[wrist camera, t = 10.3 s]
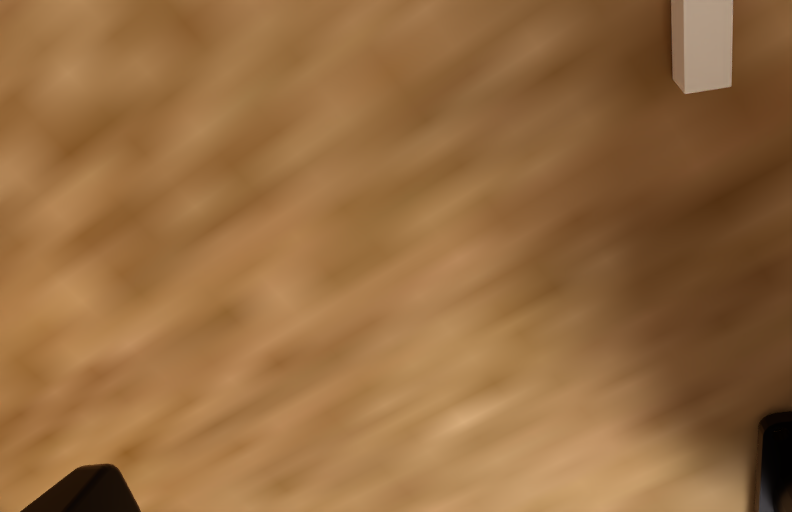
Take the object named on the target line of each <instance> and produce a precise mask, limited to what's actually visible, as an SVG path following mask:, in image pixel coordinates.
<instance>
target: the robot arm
mask: <svg viewBox="0 0 792 512" xmlns="http://www.w3.org/2000/svg"><path fill="white" fill-rule="evenodd" d="M780 428H783V429H782V430H780V431H776V432H774V431H775V430H776V429H780ZM20 512H141V511H140V508H139V506H138V504H137V502H136V500H135V499H134V497H133V495H132V493H131V491H130V489H129V487H128V485H127V483H126V482H125V480H124V478H123V476H122V474H121V472H120V471H119V469H118V468H117V467H115V466H114V465H112V464H97V465H85V466H81V467H79V468H77V469H75V470H74V471H72V472H71V473H70V474H68V475H67V476H66V477H65V478H63V479H62V480H61V481H59V482H58V483H57V484H55V485H54V486H53V487H52V488H50V489H49V490H48V491H46V492H45V493H44V494H42V495H41V496H40V497H39V498H37V499H36V500H35V501H33V502H32V503H31V504H30V505H28V506H27V507H26V508H24V509H23V510H22V511H20ZM754 512H792V412H782V413H774V414H770V415H768V416H766V417H764V418H763V419H762V420H761V421H760V423H759V426H758V447H757V468H756V489H755V510H754Z"/></svg>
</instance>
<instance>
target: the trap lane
mask: <svg viewBox="0 0 792 512" xmlns="http://www.w3.org/2000/svg"><path fill="white" fill-rule="evenodd" d="M671 25H672V73H673V80H674V81H675V83H676V84H677V85H678V86H679V88H680V89H681V90H682V91H683V93H684V94H689V93H695V92H702V91H708V90H714V89H720V88H727V87H731V86H732V32H733V0H671Z"/></svg>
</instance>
